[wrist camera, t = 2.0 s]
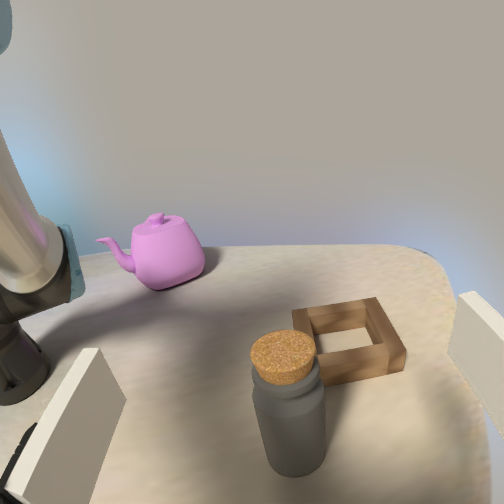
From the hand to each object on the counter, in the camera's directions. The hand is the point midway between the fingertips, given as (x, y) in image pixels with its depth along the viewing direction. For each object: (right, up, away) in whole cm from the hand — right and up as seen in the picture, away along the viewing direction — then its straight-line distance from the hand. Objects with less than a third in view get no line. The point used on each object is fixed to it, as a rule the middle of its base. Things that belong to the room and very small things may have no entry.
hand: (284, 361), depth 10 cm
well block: (+12, -10, +32) cm, 35 cm away
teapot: (-20, -2, +64) cm, 67 cm away
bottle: (+3, -17, +18) cm, 25 cm away
